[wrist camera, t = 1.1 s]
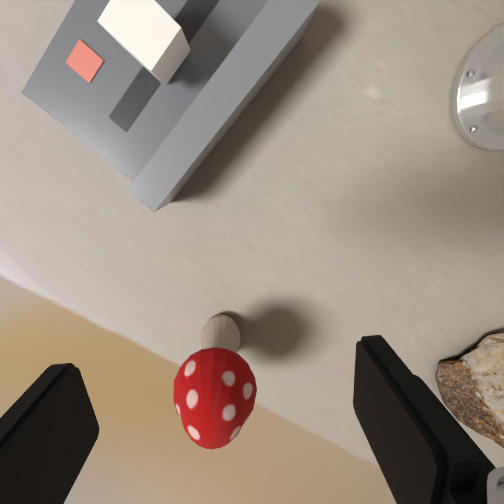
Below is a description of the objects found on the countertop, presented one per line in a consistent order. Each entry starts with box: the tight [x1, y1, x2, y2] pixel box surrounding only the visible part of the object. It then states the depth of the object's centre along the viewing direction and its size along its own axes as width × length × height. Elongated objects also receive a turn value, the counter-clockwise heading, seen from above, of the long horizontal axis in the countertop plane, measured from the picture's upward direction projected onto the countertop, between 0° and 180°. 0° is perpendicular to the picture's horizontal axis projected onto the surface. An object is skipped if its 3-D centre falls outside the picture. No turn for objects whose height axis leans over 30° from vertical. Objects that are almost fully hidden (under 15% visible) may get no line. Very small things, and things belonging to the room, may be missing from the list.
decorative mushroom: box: [173, 314, 257, 449], centre depth 30 cm, size 10×9×15 cm
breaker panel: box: [22, 0, 320, 212], centre depth 24 cm, size 22×16×6 cm
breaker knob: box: [98, 0, 191, 86], centre depth 21 cm, size 4×4×6 cm
